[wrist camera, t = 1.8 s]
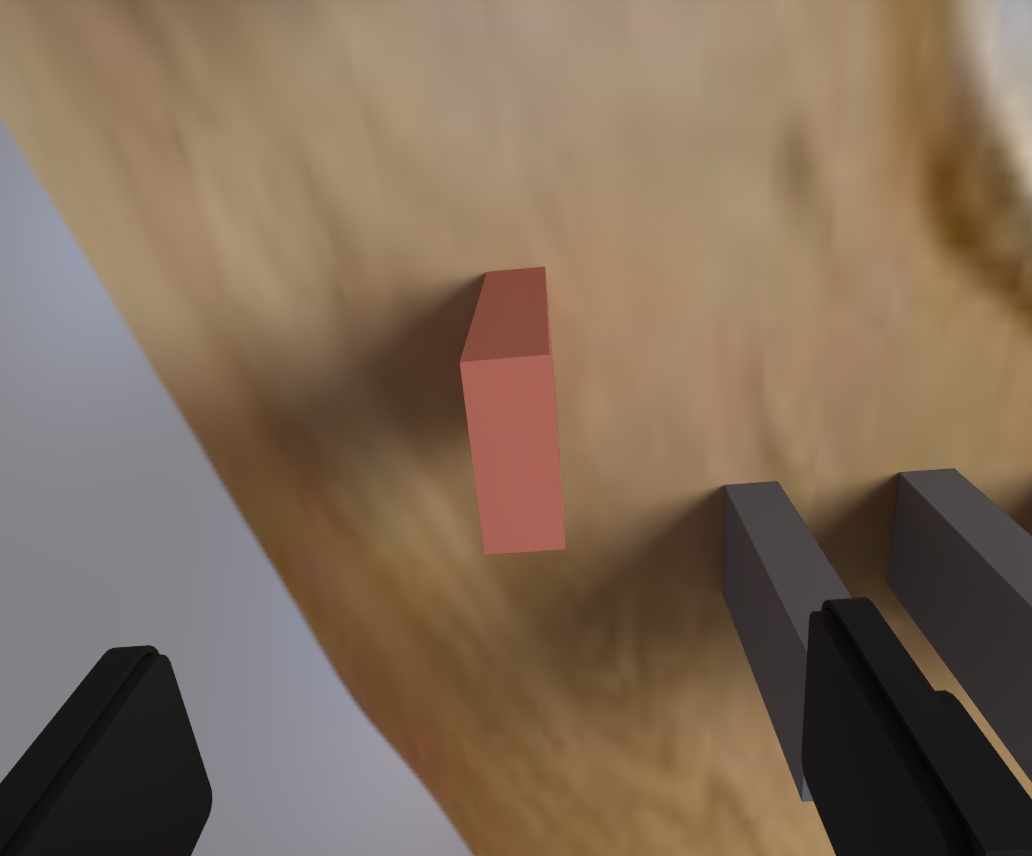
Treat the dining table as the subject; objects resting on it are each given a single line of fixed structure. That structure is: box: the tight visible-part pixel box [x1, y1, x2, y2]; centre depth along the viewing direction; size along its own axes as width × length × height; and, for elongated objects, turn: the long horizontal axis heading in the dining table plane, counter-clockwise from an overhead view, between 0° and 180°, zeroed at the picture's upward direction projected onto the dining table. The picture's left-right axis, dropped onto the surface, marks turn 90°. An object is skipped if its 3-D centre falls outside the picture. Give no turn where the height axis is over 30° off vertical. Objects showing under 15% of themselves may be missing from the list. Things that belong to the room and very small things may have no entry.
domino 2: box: [887, 469, 1032, 782], centre depth 25 cm, size 2×5×10 cm, turn 6°
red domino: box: [460, 267, 565, 555], centre depth 22 cm, size 2×5×10 cm, turn 5°
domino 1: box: [723, 481, 852, 801], centre depth 25 cm, size 2×5×10 cm, turn 6°
